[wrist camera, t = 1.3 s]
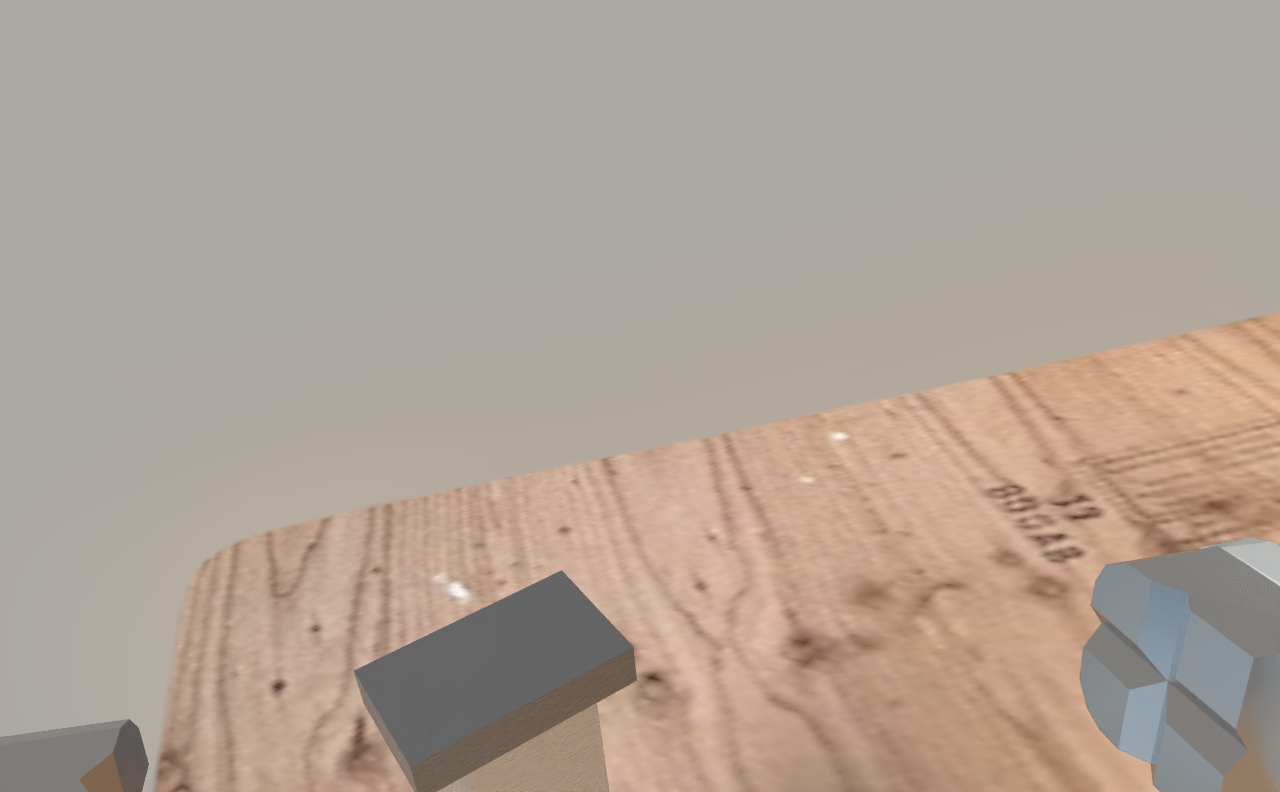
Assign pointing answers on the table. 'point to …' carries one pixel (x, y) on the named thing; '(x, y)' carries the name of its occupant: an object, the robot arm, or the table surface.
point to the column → (503, 695)
